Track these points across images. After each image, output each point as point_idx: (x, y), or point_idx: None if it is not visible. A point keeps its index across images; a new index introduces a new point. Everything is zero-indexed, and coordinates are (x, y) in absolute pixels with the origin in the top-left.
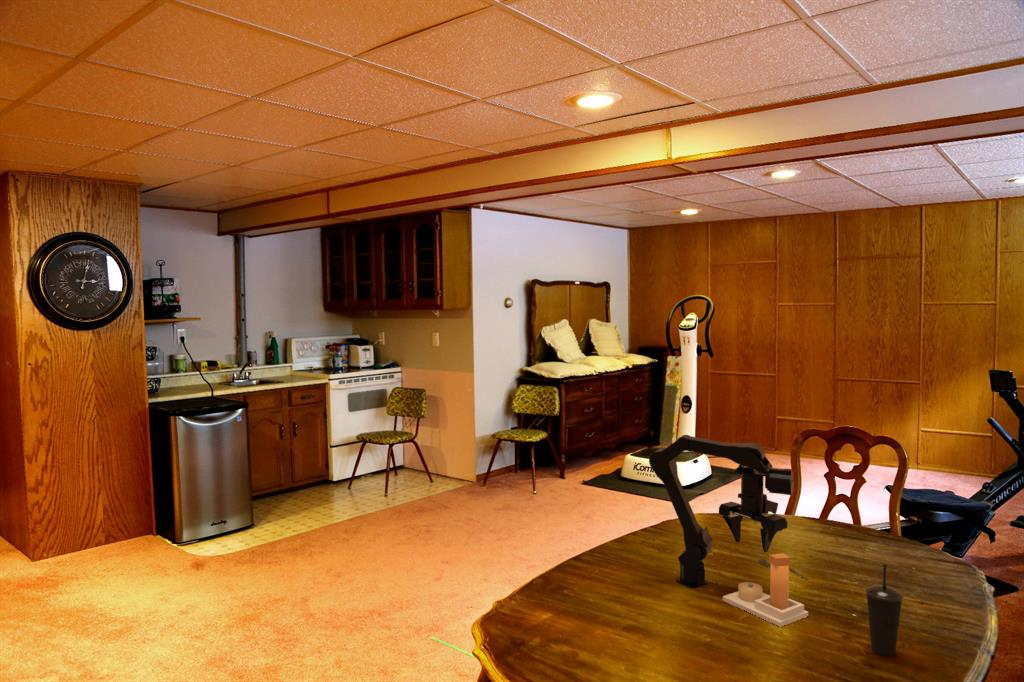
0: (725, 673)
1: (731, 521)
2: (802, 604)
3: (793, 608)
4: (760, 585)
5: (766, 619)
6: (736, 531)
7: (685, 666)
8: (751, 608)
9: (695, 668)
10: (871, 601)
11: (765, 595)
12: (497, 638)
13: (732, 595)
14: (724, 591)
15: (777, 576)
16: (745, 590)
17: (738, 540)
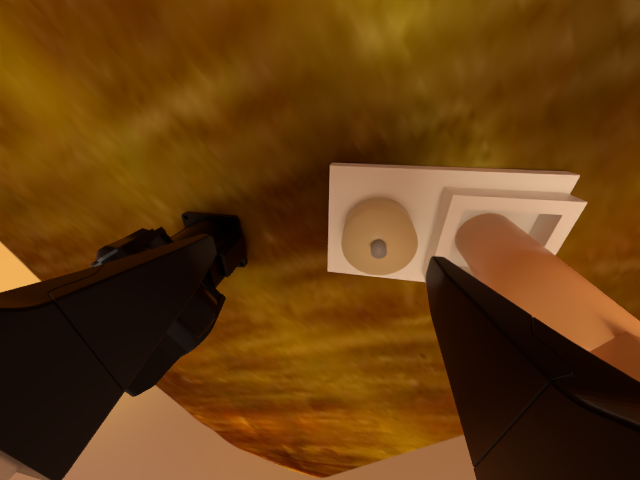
0: None
1: (83, 432)
2: (580, 205)
3: (555, 253)
4: (396, 214)
5: None
6: (161, 306)
7: (434, 433)
8: (417, 277)
9: (447, 431)
10: None
11: (399, 180)
12: (267, 455)
13: (337, 251)
14: (292, 220)
15: None
16: (383, 273)
17: (208, 252)
